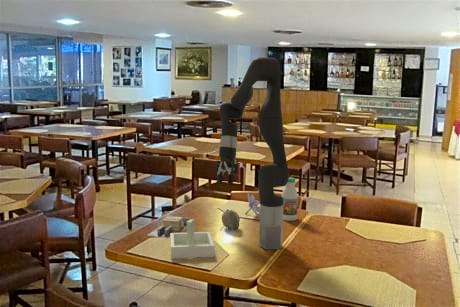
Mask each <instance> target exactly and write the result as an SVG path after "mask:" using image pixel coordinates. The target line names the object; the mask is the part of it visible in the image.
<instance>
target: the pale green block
mask: <svg viewBox="0 0 460 307" xmlns="http://www.w3.org/2000/svg"><path fill="white" fill-rule="evenodd" d="M194 232H195V219H192V218H191V219H190V220H189V221H187V228H186V233H187V245H194Z"/></svg>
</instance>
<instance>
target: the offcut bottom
mask: <svg viewBox="0 0 460 307" xmlns="http://www.w3.org/2000/svg"><path fill="white" fill-rule="evenodd" d="M160 226H163V223H161V225H160ZM169 226H172V230H177V231H179V230H180V229H181V228H182V227H184V222H182V223H181V224H180V225H179V226H175V225H165V229H166V228H168V227H169Z"/></svg>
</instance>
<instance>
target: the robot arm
mask: <svg viewBox="0 0 460 307" xmlns="http://www.w3.org/2000/svg"><path fill="white" fill-rule="evenodd" d="M257 82H267V92H266V93H267V94H266V97H265V99H264V101H263V103H262V105H261V108H260V110H259V113H258V123H259V124H258V126H259V127H258V128H259V132H260V135H261V137H262V138H263V140H264V142H265V143H266V144H267V146H268V148H269V150H270V152H271V155H272V162H273V163H271V164H264V165H262V166H261V167H260V168H259V170H258V196H259V201H260V203H259V207H260V213H259V215H260V218H259V231H258V233H259V236H258V237H259V239H258V240H259V241H258V243H259V244H258V246H259V247H261V248H262V249H265V250H280V249H281V248H282V247H283V227H284V226H283V224H284V220H283V202H284V201H283V197H282V195H278V194H275V188H279V187H281V188H282V187H285V185H286V184H287V182H288V179H289V177H290V175H289V174H290V173H289V167H288V160H287V154H286V148H285V140H284V126H283V124H284V122H283V114H282V103H281V101H282V100H281V65H280V62H279V60H278V59H277V58H276V57H261V56H260V57H256V58H254V59H253V60H252V61H251V63H250V64H249V66H248V68H247V70H246V72H245V75H244V77H243V80H242V82H241V83H240V85H239V87H238V88H237V90H236V91H235V92H234V94H233V95H232V97H231V98H230V102H229V101H224V102H222V103H221V104H220V106H219V109H218V110H219V118H220V124H221V135H220V141H219V151H218V157H219V158H220V160H216V161H215V172H214V174H216V175H217V180H216V181H217V182H216V183H217V184H219V185H222V184H223V177H224V174H225V172H226V171H227V174H228V175H227V177H228V178H227V184H230V185H233V184H234V177H235V175H236V174H238V168H239V167H238V166H239V164H238V163H239V160H238V159H236V158H237V148H238V128H239V127H238V125H237V124H235V123H233V122H231V121H230V119H231V120H236V121H237V120H239V119H240V120H241V118H242V117H243V114H244V111H245V108H246V106H247V105H248V103H249V102H250V101H251V100H252V98H253V96H254V88H253V86H254V85H255V84H256V83H257Z"/></svg>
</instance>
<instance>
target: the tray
mask: <svg viewBox="0 0 460 307" xmlns="http://www.w3.org/2000/svg"><path fill="white" fill-rule="evenodd" d="M169 240H170V241H169V242H170V258H171V260H175V259H195V258H196V259H197V257H202V258H215V244H214V241H213V238H212V234H211V232H210V231H196V232H195V231H194V245H187V232H181V233H170V238H169Z"/></svg>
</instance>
